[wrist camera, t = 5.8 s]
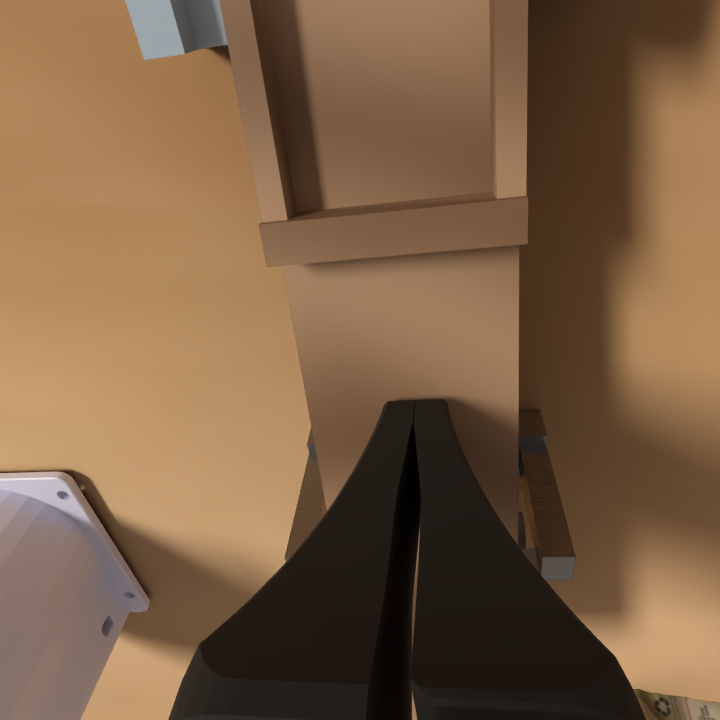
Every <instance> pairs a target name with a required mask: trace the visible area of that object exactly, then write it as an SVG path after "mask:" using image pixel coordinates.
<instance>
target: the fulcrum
mask: <svg viewBox="0 0 720 720" xmlns="http://www.w3.org/2000/svg"><path fill="white" fill-rule="evenodd" d="M546 442H547V434H546V430H545V427H544V423H543V419H542V416H541V412H540V410H538V411H519V435H518V477H521V482H522V487H523V492H524V498H525V503H526V508H527V513H528V518H529V523H530V528H531V533H532V538H533V543H534V549H535V554H536V559H537V564H538V569H539V573H540V574H541V576H542V577H543V578H544V579H545V580H572V579H573V572H574V566H575V559H576V556H575V553H574V549H573V545H572V541H571V537H570V534H569V530H568V526H567V522H566V518H565V515H564V511H563V507H562V503H561V499H560V496H559V492H558V488H557V484H556V481H555V477H554V473H553V469H552V465H551V462H550V458H549V454H548V450H547V446H546ZM307 446H308V449H309V457H308V461H307V465H306V470H305V474H304V478H303V482H302V487H301V491H300V495H299V499H298V504H297V508H296V512H295V516H294V520H293V525H292V529H291V533H290V537H289V542H288V546H287V550H286V554H285V560H286V562H287V561H288V559H289V558H290V557H291V556H292V555H293V554H294V553H295V551H296V550H297V549H298V548H299V547H300V545H301V544H302V543H303V542H304V540H305V539H306V538H307V537H308V536H309V534H310V533H311V532H312V531H313V529H314V528H315V527H316V525H317V524H318V523H319V521H320V520H321V519H322V517H323V516H324V515H325V513H326V512H327V508H326V503H325V497H324V492H323V486H322V481H321V475H320V470H319V464H318V459H317V453H316V448H315V442H314V437H313V431H312V426H311V430H310V435H309V439H308V443H307Z"/></svg>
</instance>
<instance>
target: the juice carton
mask: <svg viewBox="0 0 720 720" xmlns="http://www.w3.org/2000/svg"><path fill="white" fill-rule="evenodd" d="M633 690H634V692H635V694H636V696H637V699H638V701H639V703H640V705H641V708H642V710H643V712H644V715H645V717H646V720H720V703H718V702H710V701H703V700H698V699H692V698H688V697H681V696H670V695H662V694H659V693H648V692H644V691H642V690H639V689H633Z"/></svg>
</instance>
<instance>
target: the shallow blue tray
mask: <svg viewBox="0 0 720 720" xmlns="http://www.w3.org/2000/svg"><path fill="white" fill-rule="evenodd" d="M125 1H126V4H127V8H128V11H129V14H130V17H131V20H132V23H133V26H134V29H135V33H136V36H137V39H138V42H139V45H140V48H141V51H142V54H143V58H144V60H148V59H154V58H160V57H167V56H173V55H180V54H186V53H189V52H192V51H195V50H198V49H204V48H210V47H216V46H223V45H228V44H227V39H226V34H225V29H224V23H223V18H222V13H221V8H220V3H219V0H125Z"/></svg>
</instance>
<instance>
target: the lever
mask: <svg viewBox="0 0 720 720" xmlns="http://www.w3.org/2000/svg"><path fill="white" fill-rule="evenodd" d="M219 3H220V8H221V13H222V18H223V23H224V29H225V34H226V39H227V44H228V49H229V55H230V60H231V65H232V70H233V75H234V81H235V86H236V91H237V96H238V101H239V107H240V112H241V117H242V122H243V127H244V133H245V138H246V143H247V148H248V153H249V159H250V164H251V169H252V174H253V179H254V185H255V190H256V195H257V200H258V205H259V211H260V216H261V221H262V223H261V224H259V228H260V234H261V239H262V244H263V249H264V254H265V259H266V264H267V267H273V266H282V267H283V273H284V278H285V284H286V289H287V295H288V300H289V306H290V311H291V317H292V322H293V327H294V333H295V338H296V344H297V349H298V355H299V360H300V366H301V371H302V377H303V382H304V388H305V393H306V399H307V404H308V410H309V415H310V421H311V426H312V431H313V437H314V442H315V448H316V453H317V459H318V464H319V470H320V475H321V481H322V486H323V492H324V497H325V503H326V508H327V510H328V509H329V508H330V506H331V505H332V503H333V502H334V500H335V499H336V497H337V496H338V494H339V493H340V491H341V489H342V488H343V486H344V485H345V483H346V481H347V480H348V478H349V476H350V475H351V473H352V472H353V470H354V468H355V466H356V464H357V463H358V461H359V459H360V457H361V455H362V453H363V451H364V450H365V448H366V446H367V444H368V442H369V440H370V438H371V436H372V433H373V431H374V429H375V427H376V425H377V422H378V420H379V417H380V415H381V412H382V409H383V406H384V405H385V404H386V403H387V402H388V401H400V400H415V401H416V400H424V399H444V400H445V401H446V402H448V409H449V413H450V418H451V421H452V424H453V427H454V430H455V433H456V436H457V438H458V441H459V443H460V446H461V448H462V450H463V453H464V455H465V457H466V459H467V461H468V463H469V465H470V467H471V469H472V472H473V473H474V475H475V477H476V479H477V481H478V483H479V485H480V487H481V488H482V490H483V492H484V494H485V495H486V497H487V499H488V501H489V502H490V504H491V506H492V507H493V509H494V510H495V512H496V514H497V515H498V517H499V518H500V520H501V521H502V523H503V524H504V526H505V527H506V529H507V530H508V532H509V533H510V535H511V536H512V538H513V539H514V540H515V542H516V543H517V545H518V546H519V547H520V549H521V550H522V552H523V553H524V554H525V556H526V557H527V558H528V559H529V561H530V562H531V563H532V564H533V566H534V567H535V568H536V569H537V571H538V572H539V569H538V564H537V559H536V554H535V549H534V548H525V547H526V538H525V526H524V520H523V515H522V512H518V435H519V245H523V244H528V197H527V196H526V178H527V69H528V0H219ZM419 539H420V530H419ZM418 559H419V540H418V551H417V561H416V571H415V581H414V592H413V609H412V648H413V635H414V623H415V609H416V593H417V578H418ZM412 720H417V715H416V709H415V704H414V699H413V693H412Z"/></svg>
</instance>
